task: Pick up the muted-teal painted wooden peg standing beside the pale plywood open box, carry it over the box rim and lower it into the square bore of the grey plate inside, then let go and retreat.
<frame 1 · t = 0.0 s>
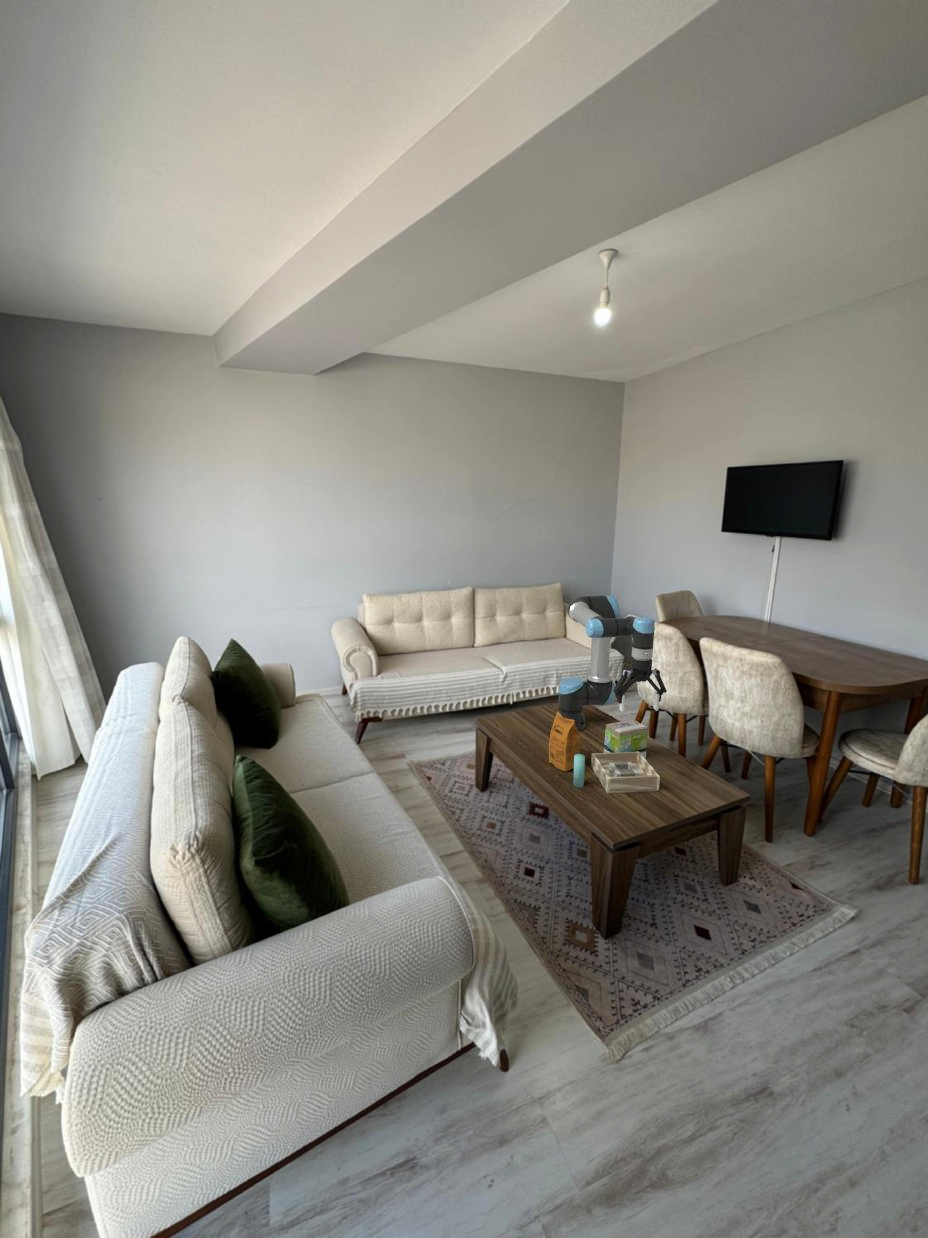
hand: (638, 710, 197), 28 cm above the table, fingers open, 13 cm apart
coffee package: (563, 765, 213), on the table
tea box: (624, 757, 218), on the table
open box: (623, 778, 201), on the table
peg: (578, 784, 197), on the table
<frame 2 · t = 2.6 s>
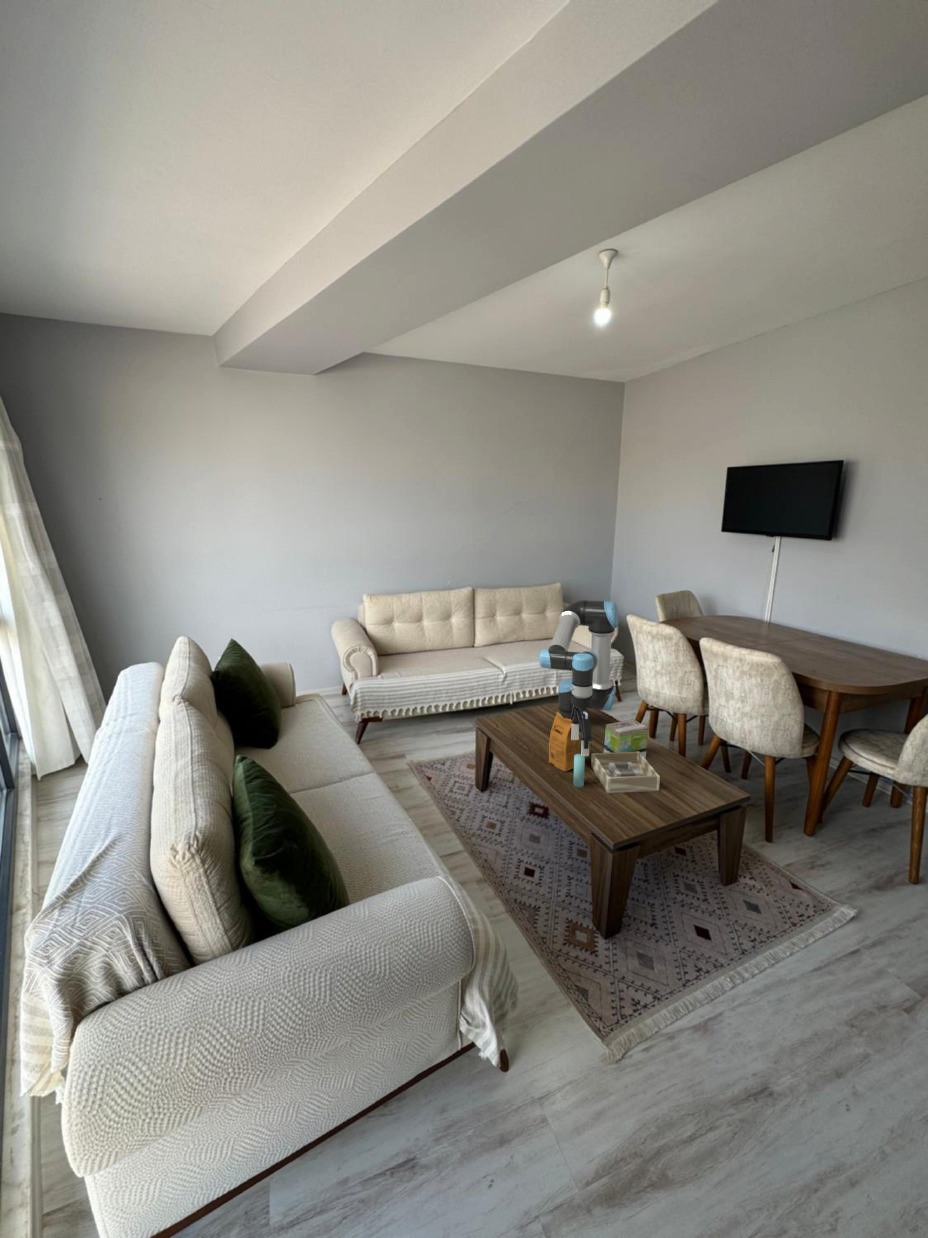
hand: (579, 747, 193), 16 cm above the table, fingers open, 13 cm apart
nothing on the table moved.
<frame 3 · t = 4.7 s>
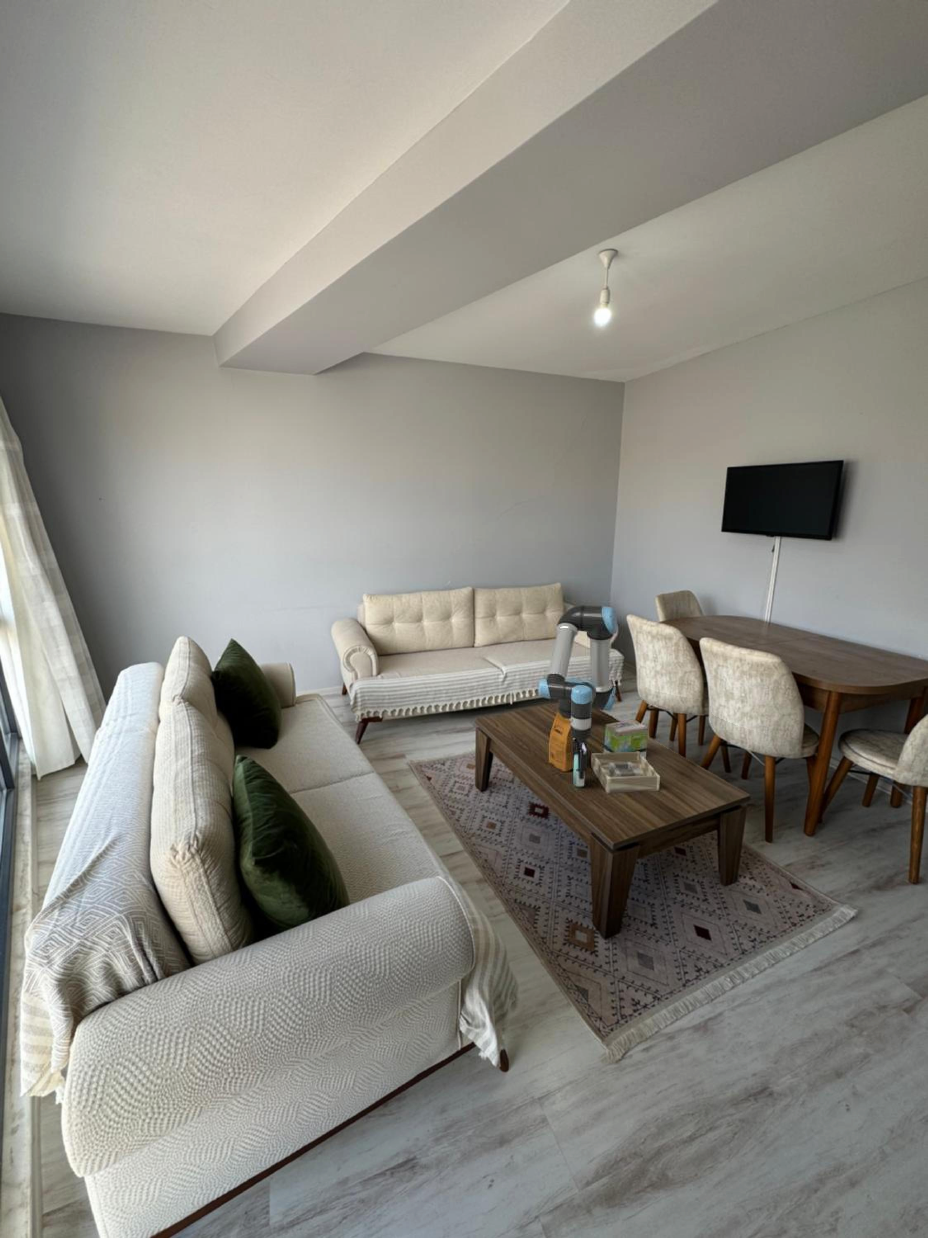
hand: (578, 782, 197), 1 cm above the table, fingers closed on peg, 4 cm apart
peg: (578, 784, 197), on the table, touching gripper
everything else where it was.
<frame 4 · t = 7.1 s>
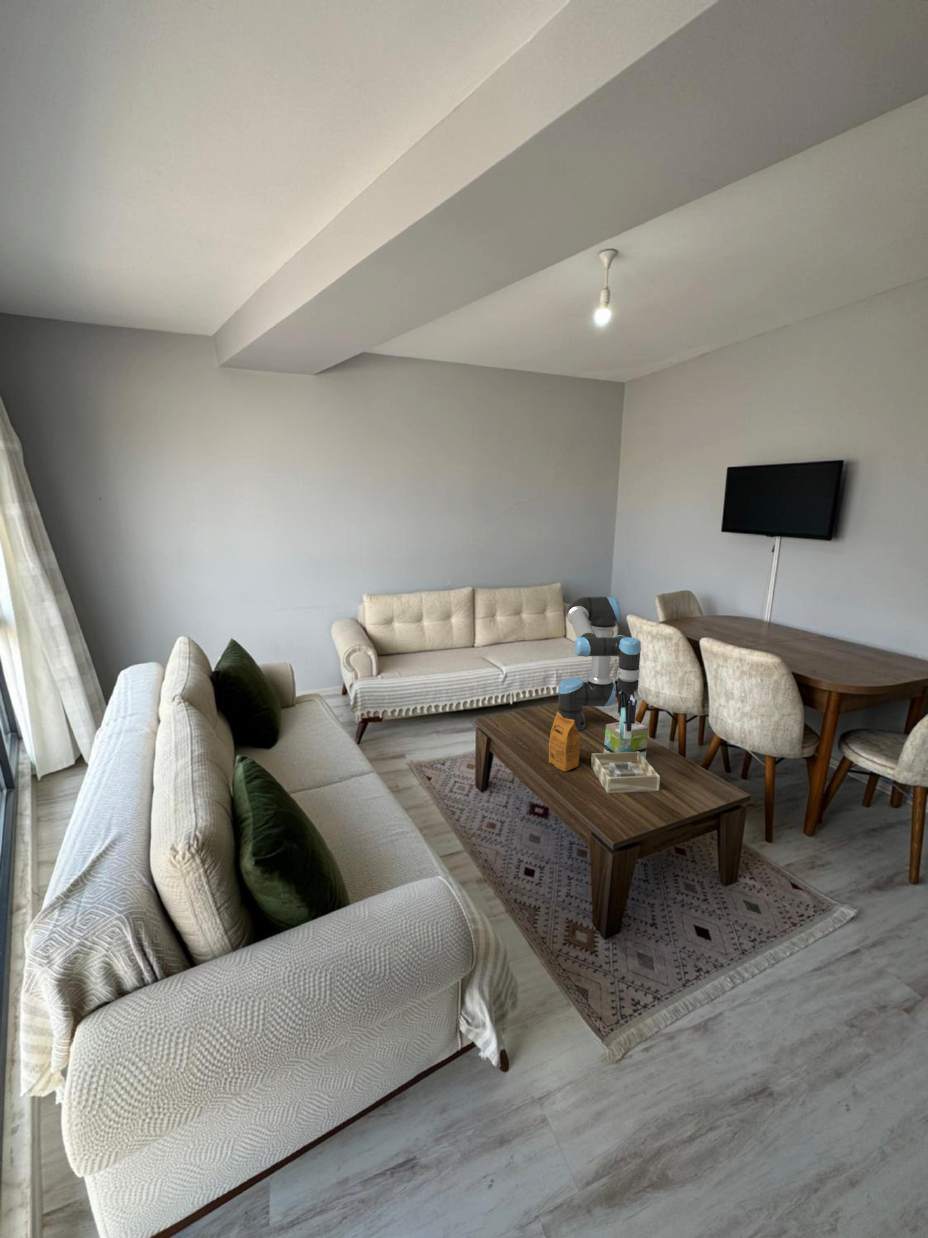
hand: (625, 735, 197), 19 cm above the table, fingers closed on peg, 4 cm apart
peg: (624, 738, 197), point 17 cm above the table, touching gripper
everything else where it was.
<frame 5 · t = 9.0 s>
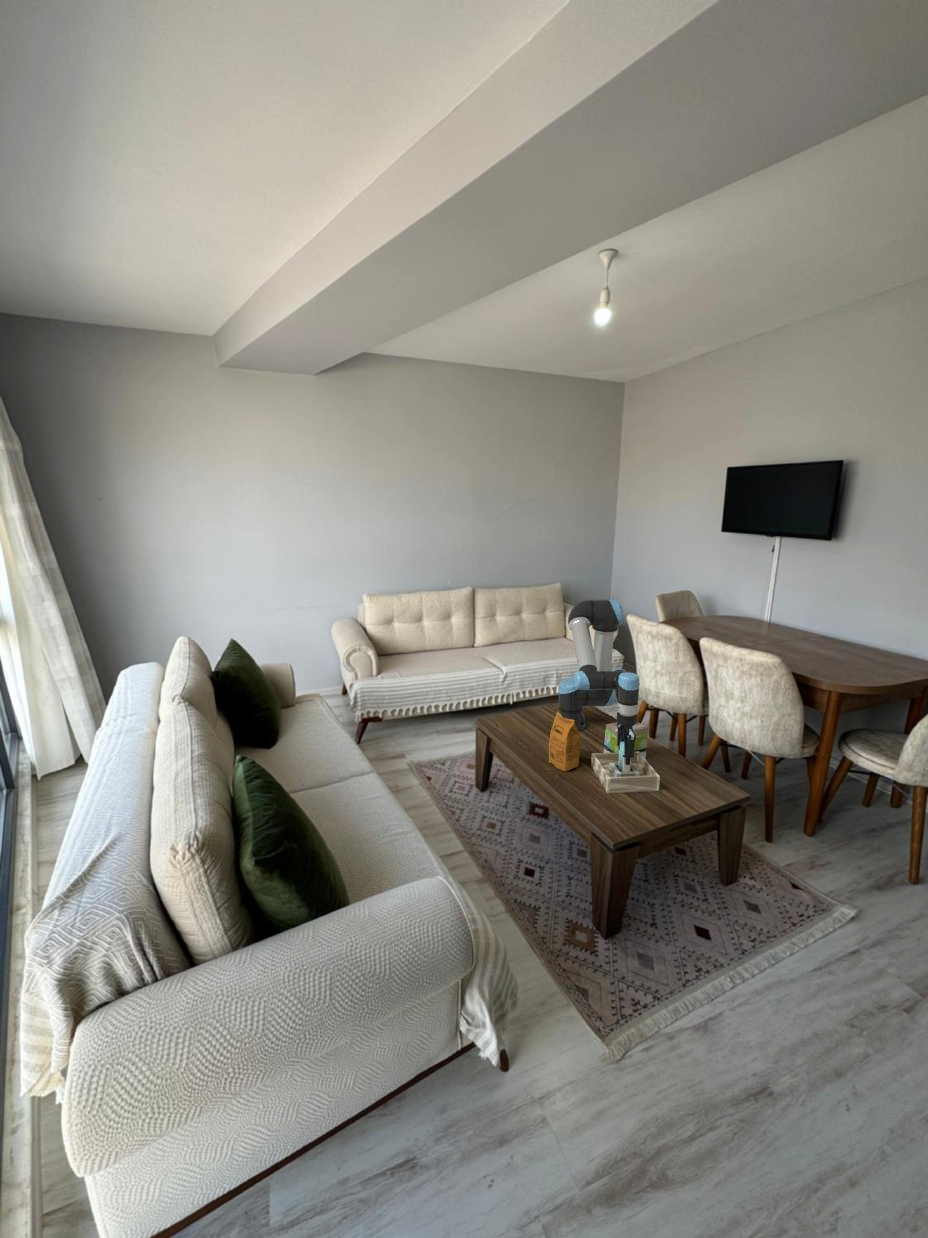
hand: (624, 768, 200), 4 cm above the table, fingers closed on peg, 4 cm apart
peg: (623, 771, 200), point 3 cm above the table, touching gripper
everything else where it was.
when the fingers open (4 cm above the table, at t = 10.6 s): peg stays where it is, resting on open box.
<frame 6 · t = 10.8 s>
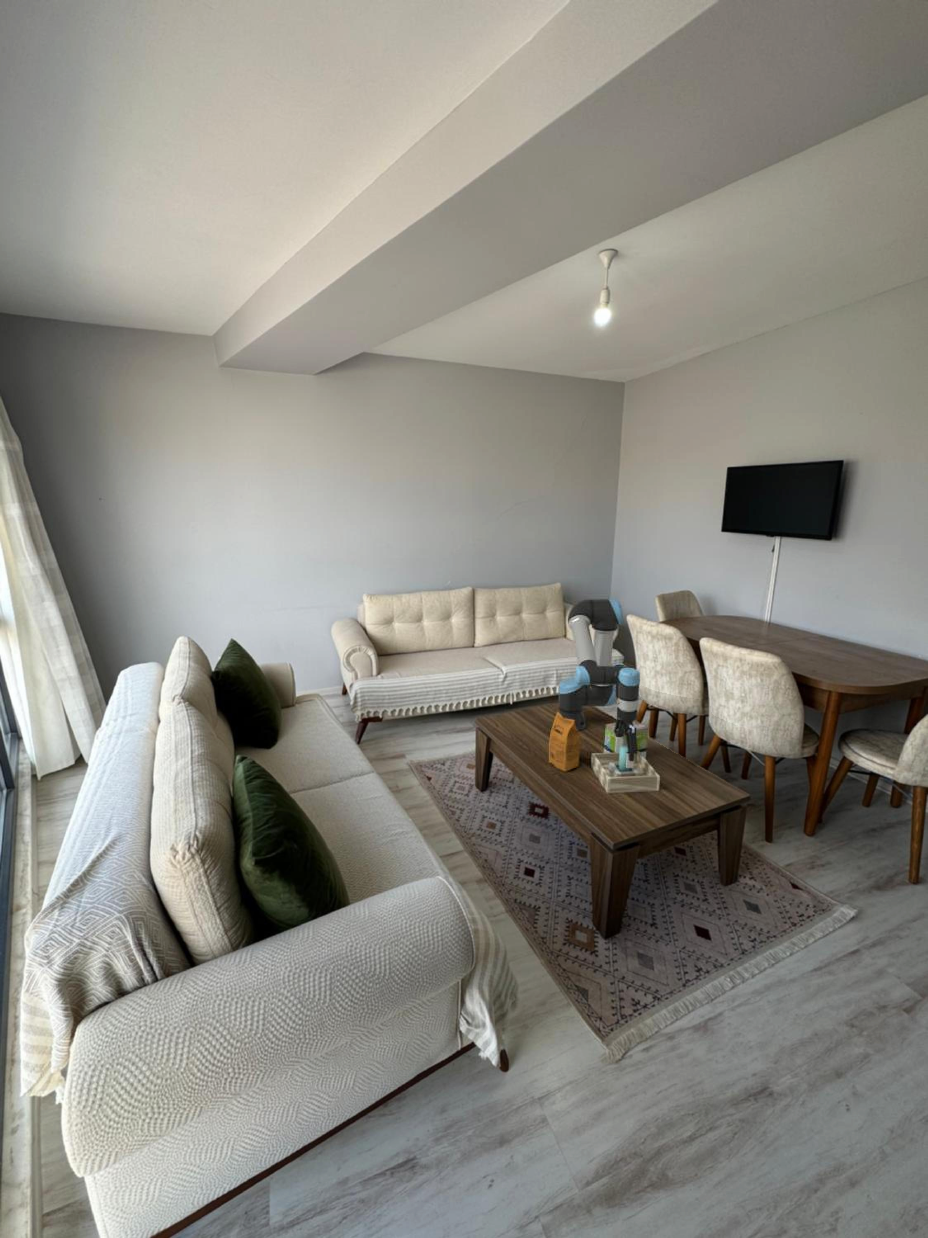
hand: (624, 759, 200), 8 cm above the table, fingers open, 11 cm apart
peg: (623, 776, 201), point 1 cm above the table, touching open box
everything else where it was.
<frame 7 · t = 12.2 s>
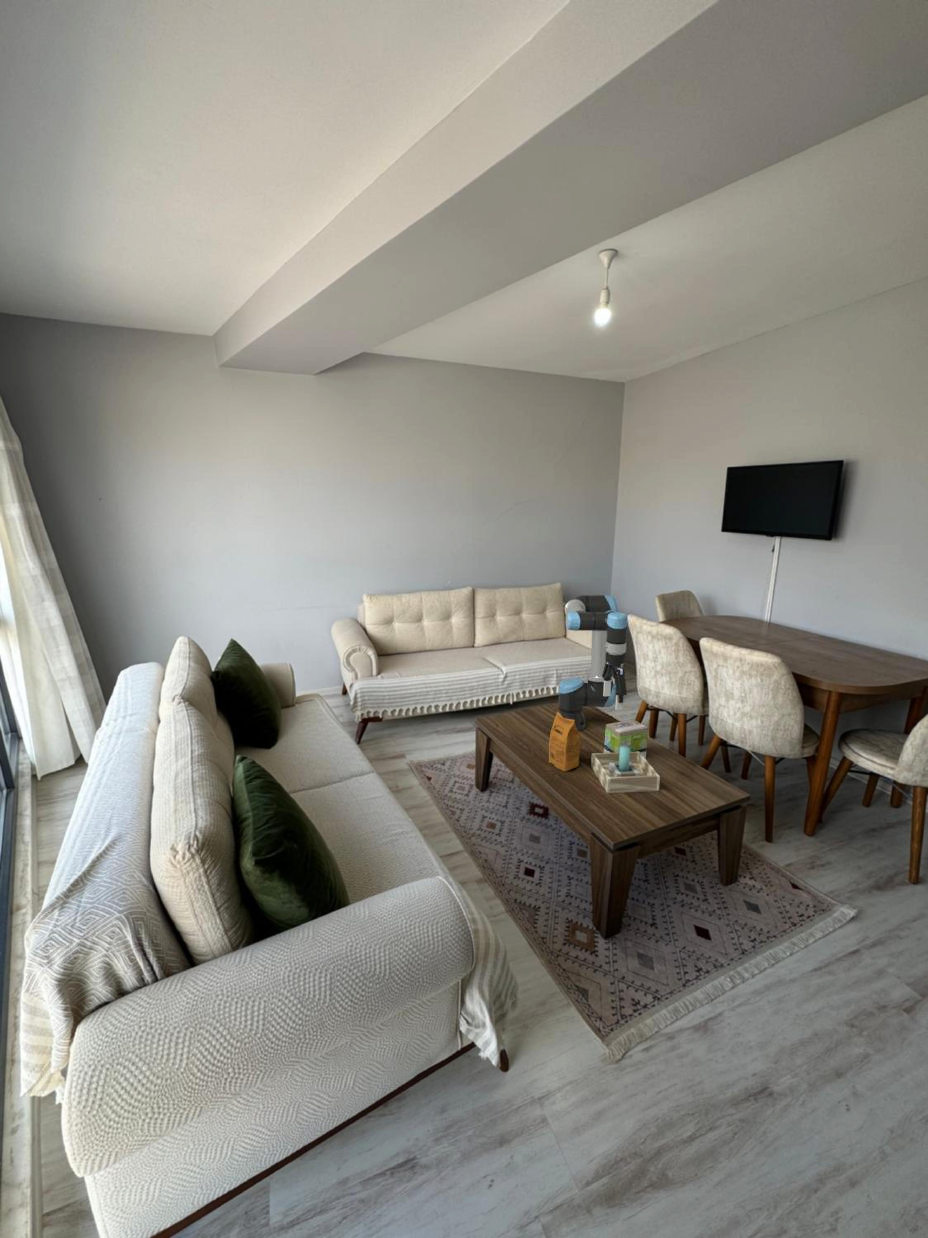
hand: (612, 702, 203), 29 cm above the table, fingers open, 13 cm apart
nothing on the table moved.
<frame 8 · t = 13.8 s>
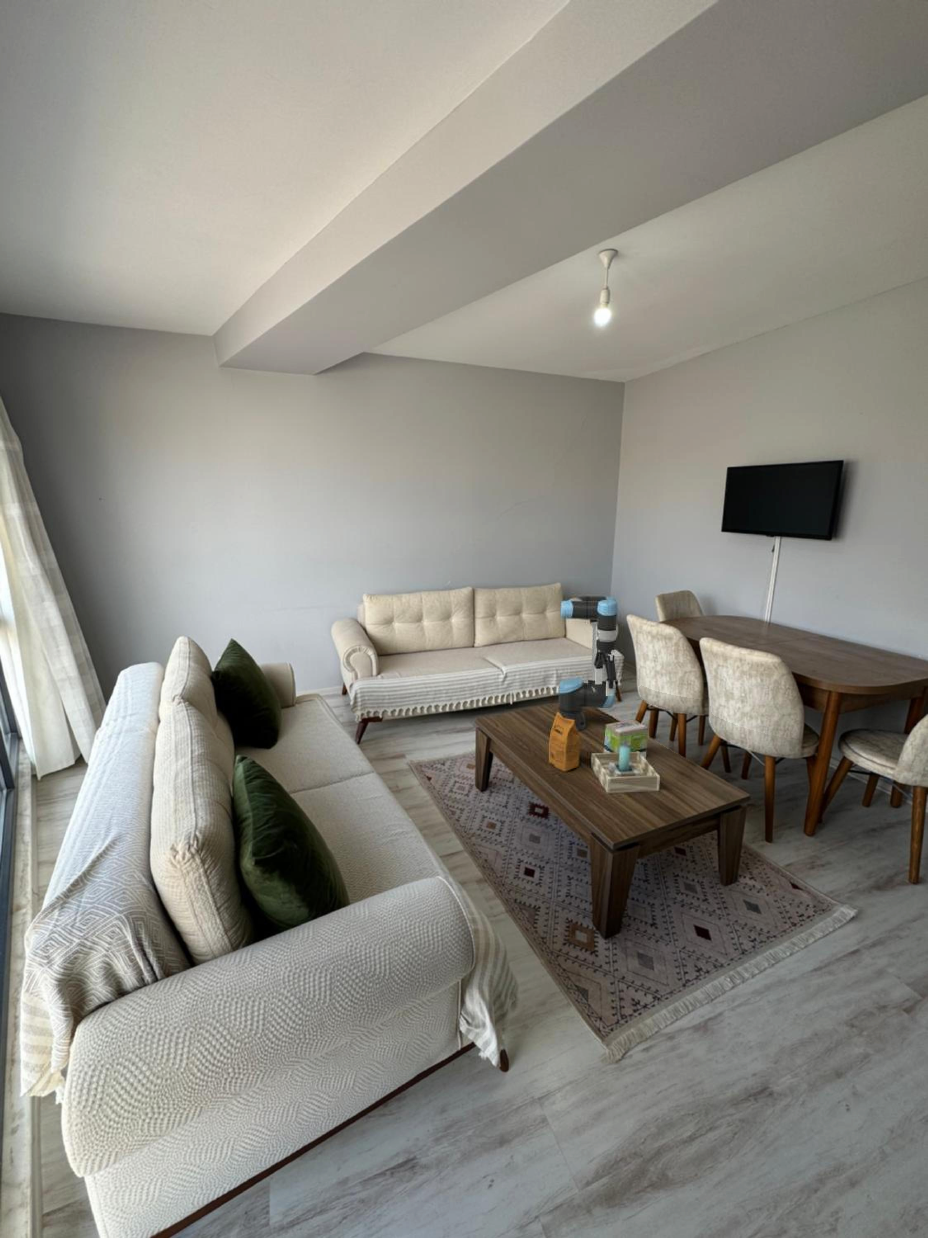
hand: (603, 689, 206), 33 cm above the table, fingers open, 13 cm apart
nothing on the table moved.
at the end: peg 0.0 cm off-centre on the open box, point 1.0 cm above the open box's base; peg tilted 0°; the gripper is holding nothing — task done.
